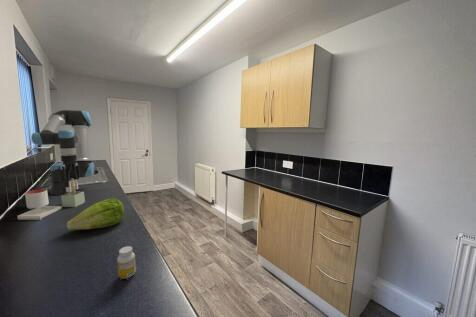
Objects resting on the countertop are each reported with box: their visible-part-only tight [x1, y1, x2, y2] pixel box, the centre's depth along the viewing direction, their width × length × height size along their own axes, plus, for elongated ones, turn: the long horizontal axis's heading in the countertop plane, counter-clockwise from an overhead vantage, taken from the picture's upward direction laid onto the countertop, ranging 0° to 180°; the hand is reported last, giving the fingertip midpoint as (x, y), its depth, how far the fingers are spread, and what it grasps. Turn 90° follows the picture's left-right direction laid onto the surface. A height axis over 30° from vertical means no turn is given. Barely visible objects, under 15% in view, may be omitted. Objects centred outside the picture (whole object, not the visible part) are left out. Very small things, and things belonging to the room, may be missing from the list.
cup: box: [24, 188, 49, 210], centre depth 128 cm, size 10×10×10 cm
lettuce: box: [66, 198, 125, 231], centre depth 103 cm, size 14×24×15 cm
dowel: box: [69, 179, 77, 196], centre depth 130 cm, size 3×3×16 cm
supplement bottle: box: [117, 245, 137, 278], centre depth 70 cm, size 5×5×10 cm
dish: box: [17, 205, 63, 221], centre depth 117 cm, size 14×12×2 cm
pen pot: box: [60, 191, 86, 208], centre depth 131 cm, size 8×8×8 cm
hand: (72, 190), depth 130 cm, fingers open, 5 cm apart
